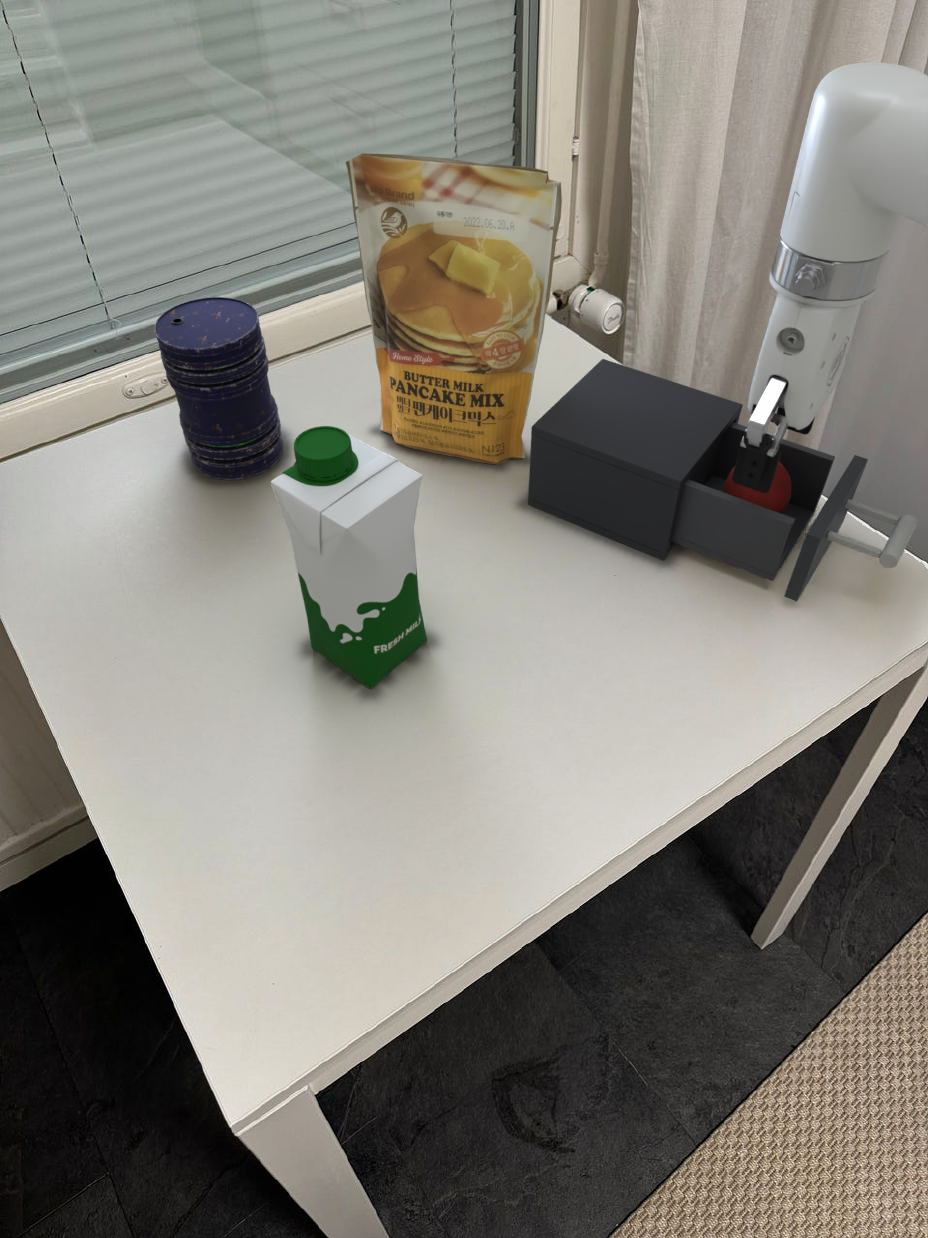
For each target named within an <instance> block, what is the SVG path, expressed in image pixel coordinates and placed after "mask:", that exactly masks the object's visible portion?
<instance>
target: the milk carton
mask: <svg viewBox="0 0 928 1238" xmlns="http://www.w3.org/2000/svg"><path fill="white" fill-rule="evenodd" d="M293 451H294V457H295V462H294V463H293V464H292V466H290V467H288V468H287V469H285V470H283V471H282V473H281V474H280V475H279V476H276V477H274V478H273V479H272V480H271V481H270V485H271V489H272V491H273V493H274V496H275V498H276V501H277V504H278V507H279V510H280V512H281V515H282V518H283V520H284V523H285V525H286V528H287V531H288V534H289V538H290V542H291V547H292V552H293V556H294V561H295V567H296V571H297V575H298V580H299V581H298V582H299V585H300V590H301V595H302V599H303V604H304V608H305V609H304V610H305V613H306V619H307V627H308V634H309V641H310V646H311V648H312V649H313V650H315V651H316V652H318V653H319V654H320V655H322V657H324V658H326V659H327V660H329V661H330V662H332V664H334V665H336V666H337V667H338V668H340V669H341V670H343V671H344V672H345V673H347V674H348V675H349V676H351V677H352V678H354V679H355V680H357V681H358V683H359V682H360V683H361V684H362V685H364V686H365V687H366V688H368V690H371V689H373V688H374V687H375V686H376V685H377V684H378V683H379V682H381V681H382V680H383V679H384V678H386V677H387V676H388V675H389V674H390V673H391V672H392V671H394V670H395V669H396V668H397V667H398V666H400V665H401V664H402V663H403V662H404V661H406V659H408V658H409V657H410V656H411V655H412V654H414V653H415V652H416V651H417V650H418V649H420V647H422V646H423V645H424V644H425V643H426V642H428V637H427V633H426V628H425V622H424V617H423V612H422V606H421V602H420V593H419V578H418V566H417V552H416V538H415V536H416V535H415V525H416V524H415V523H416V518H417V517H416V516H417V512H418V511H417V510H418V505H419V497H420V492H421V486H422V479H423V474H421V473H419V472H417V470H416V471H415V470H414V469H412V468H411V467H408V466H407V465H404V464H403V463H401V462H399V460H398V459H397V458H396V457H394V456H392V455H390V454H389V453H386V452H383V451H381V450H379V449H378V448H376V447H374V446H372V445H370V444H368V443H366V442H365V441H363V440H360V439H358V438H356V437H354V436H353V435H351V434H349V433H348V432H346V431H345V430H344V429H342V428H340V427H337V426H330V425H319V426H314V427H310V428H308V429H306V430H304V431H302V432H301V433H300V434H298V435H297V437H295V439H294V442H293Z"/></svg>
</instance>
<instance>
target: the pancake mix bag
mask: <svg viewBox="0 0 928 1238" xmlns="http://www.w3.org/2000/svg"><path fill="white" fill-rule="evenodd" d="M345 165H346V169H347V175H348V180H349V186H350V194H351V203H352V211H353V218H354V223H355V227H356V232H357V240H358V248H359V249H358V250H359V258H360V259H359V260H360V266H361V273H362V279H363V285H364V286H363V287H364V293H365V294H364V296H365V301H366V307H367V311H368V316H369V320H370V324H371V332H372V339H373V346H374V353H375V354H374V355H375V363H376V367H377V370H378V376H379V383H380V405H381V407H380V408H381V409H380V410H381V413H380V423H379V428H378V429H379V431H381V432H385V433H387V434H390V435H392V438H393V441H394V443H395V444H398V445H401V446H403V447H406V448H410V449H415V450H420V451H424V452H429V453H434V454H439V455H443V456H450V457H455V458H459V459H465V460H468V461H473V462H477V463H483V464H488V465H489V464H490V465H499V466H500V465H501V464H503V463H505V462H506V461H509V460H510V459H526V453H525V445H524V441H523V437H522V435H523V432H524V428H525V424H526V420H527V415H528V411H529V407H530V403H531V398H532V391H533V387H534V386H533V384H534V377H535V372H536V368H537V364H538V358H539V354H540V348H541V343H542V338H543V335H544V329H545V321H546V320H545V319H546V313H547V311H548V306H549V303H550V299H551V289H552V279H553V271H554V262H555V255H556V245H557V237H558V231H559V229H560V228H559V227H560V224H561V218H562V205H563V204H562V203H563V195H562V182H561V181H557V180H553V179H550V176H549V171H548V170H544V169H540V168H535V167H531V166H521V165H519V166H518V165H509V164H497V163H493V164H492V163H480V162H473V161H467V160H460V159H454V158H447V157H435V156H424V155H423V156H421V155H407V154H397V153H395V154H394V153H393V154H392V153H391V154H390V153H368V152H367V153H365V152H363V153H360V154H358V155H356V156H354V157H352V158H350V159H348V160H346V161H345Z"/></svg>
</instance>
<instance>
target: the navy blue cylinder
mask: <svg viewBox="0 0 928 1238" xmlns="http://www.w3.org/2000/svg"><path fill="white" fill-rule="evenodd" d="M153 330H154V334H155V337H156V340H157V342H158V347H159V351H160V359H161V362H162V366H163V369H164V370H165V376H166V379H167V381H168V383H169V386H170V387H171V388H172V389H173V391H174V394H175V397H176V401H177V405H178V408H179V414H178V417H179V424H180V427H181V429H182V434H183V438H184V441H185V444H186V446H187V447H188V450H189V452H190V456H191V461H192V464H193V466H194V467H195V469H196V470H197V471H198V472H200V473H201V474H203V476H206V477H209V478H211V479H212V478H213V479H216V480H221V481H222V480H223V481H236V480H244V479H248V478H252V477H255V476H257V475H260V474H261V475H262V473H265V472H266V471H268V470H270V469H272V467H273V466H275V465H276V464H277V463H278V462H279V460H280V459H281V458H282V456H283V454H284V451H285V450H284V448H285V447H284V441H283V438H282V431H281V429H282V424H281V419H280V415H279V408H278V404H277V402H276V399H275V397H274V396H273V394H272V392H271V385H270V381H269V377H268V376H269V375H268V373H269V358H268V355H267V348H266V343H265V338H264V335H263V333H262V330H261V325H260V318H259V314H258V311H257V309H256V308H255V307H253V305H252V304H250V303H249V302H246V301H244V300H241V299H237V298H233V297H227V296H209V297H208V296H207V297H201V298H195V299H191V300H188V301H184V302H181V303H179V304H177V305H174V306H172V307H170V308H169V309H167V310H166V311H164V312H163V313H162V314H161V315H160V316H159V317H158V318H157V320H156V321H155V323H154V329H153Z"/></svg>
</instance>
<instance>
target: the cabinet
mask: <svg viewBox="0 0 928 1238" xmlns="http://www.w3.org/2000/svg"><path fill="white" fill-rule="evenodd" d="M742 409H743V403H740V402H737V401H734V400H730V399H728V398H724V397H721V396H719V395H715V394H712V393H710V392H706V391H704V390H700V389H697V388H694V387H690V386H688V385H684V384H681V383H678V382H675V381H672V380H670V379H666V378H664V377H660V376H658V375H655V374H650V373H648V372H645V371H642V370H638V369H635V368H632V367H629V366H628V365H627V366H626V365H624V364H621V363H618V362H614V361H611V360H609V359H606V358H602V359H601V360H600V361H598V362H597V363H596V364H595V365H594V366H593V367H592V368H591V369H590V370H589V371H587V373H586V374H585V375H584V376H583V377H582V378H581V379H579V380H578V381H577V383H575V384H574V385H573V386H572V387H571V388H570V389H569V390H568V391H567V392H565V394H564V395H563V396H562V397H560V399H558V401H556V402H555V403H554V405H552V406H551V407H550V408H549V409H548V410H547V411H546V412H545V413H544V414H543V415H542V416H541V417H540V418H538V420H537V421H536V422H534V423H533V425H532V426H531V432H530V433H531V435H530V436H531V437H530V453H529V472H528V491H527V505H528V506H530V507H533V508H535V509H538V510H539V511H542V512H544V513H547V514H550V515H552V516H554V517H556V518H559V519H561V520H564V521H567V522H569V523H571V524H574V525H576V526H579V527H581V528H584V529H586V530H589V531H590V532H593V533H595V534H598V535H600V536H602V537H605V538H608V539H610V540H612V541H615V542H618V543H620V544H622V545H625V546H626V547H630V548H632V549H634V550H636V551H639V552H641V553H644V554H646V555H649V556H651V557H654V558H656V559H658V560H661V561H665V560H666V559H667V558H668V556H670V554H671V552H672V551H673V550H674V548H676V546H677V545H678V544H677V543H674V542H672V541H671V540H672V535H673V530H674V526H675V521H676V516H677V512H678V507H679V502H680V498H681V493H682V488H683V484H684V483H685V482H686V481H687V479H688V478H689V477H690V476H691V474H692V473H693V472H694V470H695V469H696V468H697V467H698V465H699V464H700V463H701V462H702V460H703V459H704V458H705V457H706V455H707V454H708V453H709V452H710V450H711V449H712V448H713V447H714V445H715V444H716V443H717V442H718V440H719V439H720V438H721V436H722V435H723V434H724V433H725V431H726V430H727V429H728V428H729V426H730V425H731V424H732V423H733V422H734V423H737V424H739V421H740V417H741V413H742Z"/></svg>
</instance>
